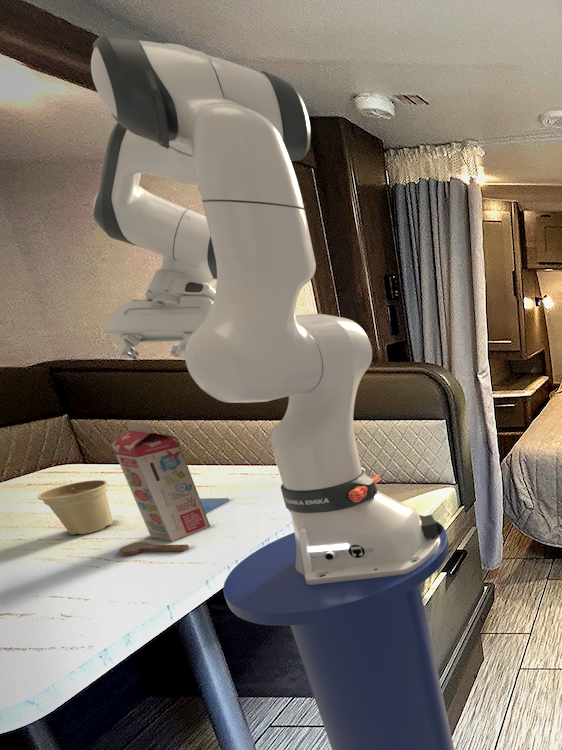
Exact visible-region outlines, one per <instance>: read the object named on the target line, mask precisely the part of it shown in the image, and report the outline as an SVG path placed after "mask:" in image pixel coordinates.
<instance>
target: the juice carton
mask: <svg viewBox="0 0 562 750" xmlns="http://www.w3.org/2000/svg"><path fill="white" fill-rule="evenodd" d="M126 424H127V428H128V431H127V432H125V433H124V434H122V435H121V436H120V437H119V438H116V440H114V442H112V443H111V447H112V450H113V452H114V454H115V457H116V459H117V461H118V463H119V466H120V468H121V470H122V473H123V475H124V477H125V480H126V482H127V484H128V486H129V489H130V491H131V494H132V496H133V498H134V501H135V503H136V505H137V507H138V510H139V513H140V514H141V517H142V519H143V522H144V525H145V527H146V529H147V531H148V534H149V535H150V537H152V538H156V539H160V540H164V541H167V542H171V543H172V542H174V541H177V540H179V539H180V540H181V539H183V538H185V537H188V536H189V535H192V534H195V533H197V532H200V531H202V530H205V529H207V528H210V527H211V524H210V522H209V520H208V516H207V513H205V511H204V508H203V506H202V503H201V500H200V499H201V498H200V495H199V493H198V490H197V487H196V485H195V482H194V480H193V477H192V475H191V471H190V469H189V466H188V464H187V461H186V458H185V456H184V453H183V450H182V447H181V445H180V442H179V439H178V437H175V436H173V435H167V434H162V433H155V432H153V430H152V427H151V424H148V423H147V424H146V423H142V422H133V421H126Z"/></svg>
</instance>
